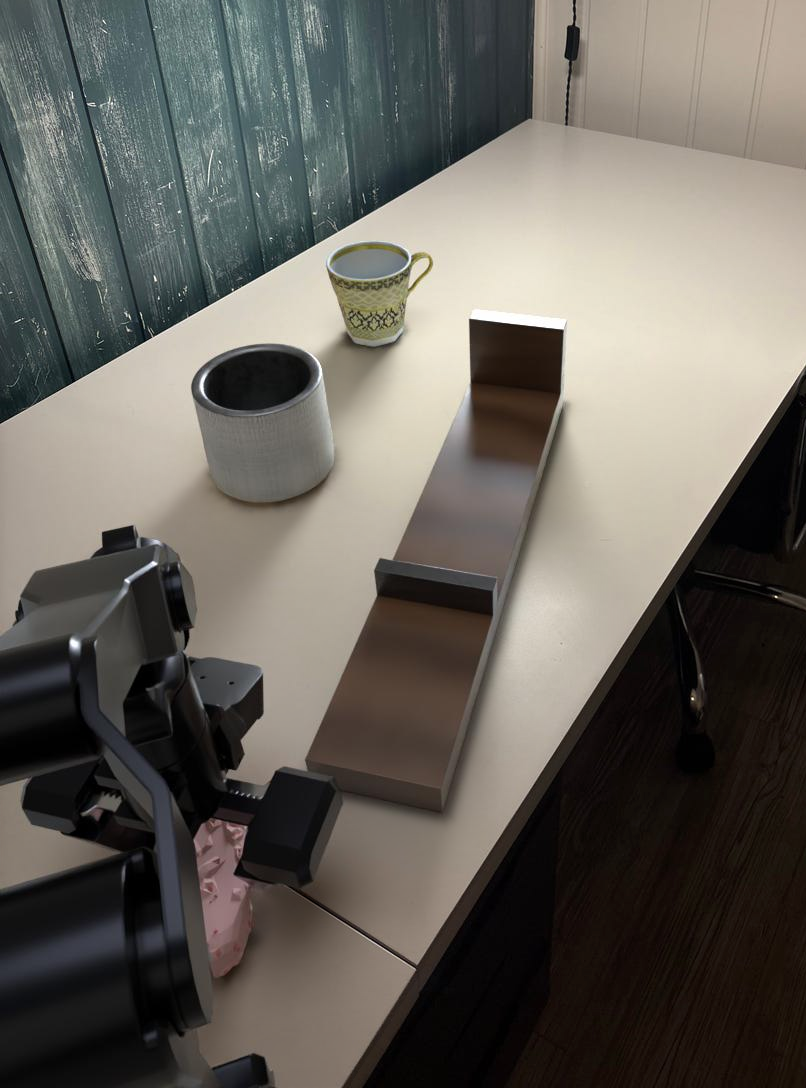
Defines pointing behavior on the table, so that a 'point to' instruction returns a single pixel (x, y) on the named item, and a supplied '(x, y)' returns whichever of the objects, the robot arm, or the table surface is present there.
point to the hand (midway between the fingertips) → (210, 869)
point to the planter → (264, 421)
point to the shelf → (448, 575)
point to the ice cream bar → (223, 893)
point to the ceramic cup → (373, 288)
